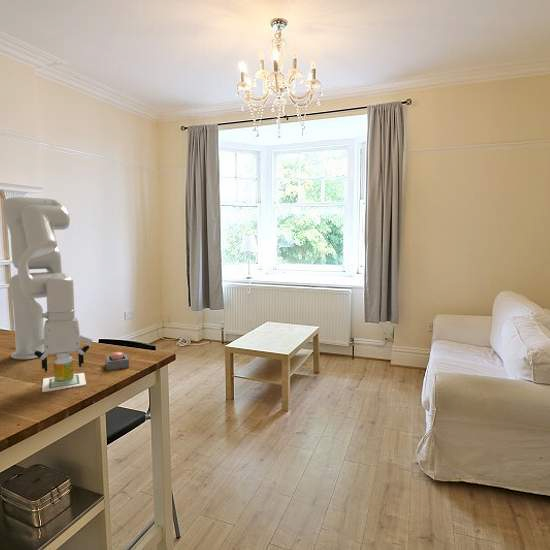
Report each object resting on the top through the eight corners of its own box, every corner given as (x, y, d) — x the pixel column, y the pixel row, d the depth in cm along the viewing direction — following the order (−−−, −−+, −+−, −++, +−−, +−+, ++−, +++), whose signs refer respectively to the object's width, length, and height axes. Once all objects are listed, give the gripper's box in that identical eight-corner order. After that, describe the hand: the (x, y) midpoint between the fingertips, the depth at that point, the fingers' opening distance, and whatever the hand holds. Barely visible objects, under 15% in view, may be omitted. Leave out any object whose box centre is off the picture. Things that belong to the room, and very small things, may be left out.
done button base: (105, 364, 144) (105, 356, 144) (126, 361, 148) (126, 353, 147) (108, 370, 138) (107, 362, 138) (129, 367, 141) (128, 359, 141)
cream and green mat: (43, 379, 129) (43, 378, 129) (84, 373, 135) (84, 372, 135) (42, 392, 119) (42, 390, 119) (86, 385, 125) (86, 383, 125)
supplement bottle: (65, 384, 124) (64, 354, 123) (50, 383, 125) (49, 353, 124) (77, 378, 129) (76, 349, 128) (62, 377, 130) (61, 348, 129)
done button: (110, 359, 143) (110, 352, 143) (122, 358, 145) (122, 351, 145) (111, 362, 140) (111, 356, 140) (123, 361, 142) (123, 354, 142)
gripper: (28, 321, 117) (31, 376, 119) (92, 316, 125) (93, 368, 127) (29, 315, 124) (32, 368, 126) (90, 311, 132) (92, 360, 134)
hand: (63, 368), depth 127 cm, fingers open, 9 cm apart
